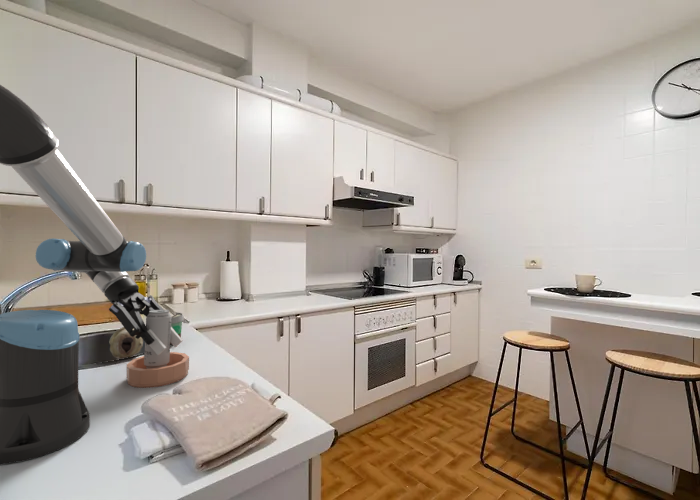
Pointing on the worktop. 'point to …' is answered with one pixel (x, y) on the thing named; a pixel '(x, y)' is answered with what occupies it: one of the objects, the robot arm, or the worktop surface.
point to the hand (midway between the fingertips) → (170, 347)
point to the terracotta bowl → (157, 372)
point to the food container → (177, 323)
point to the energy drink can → (162, 329)
